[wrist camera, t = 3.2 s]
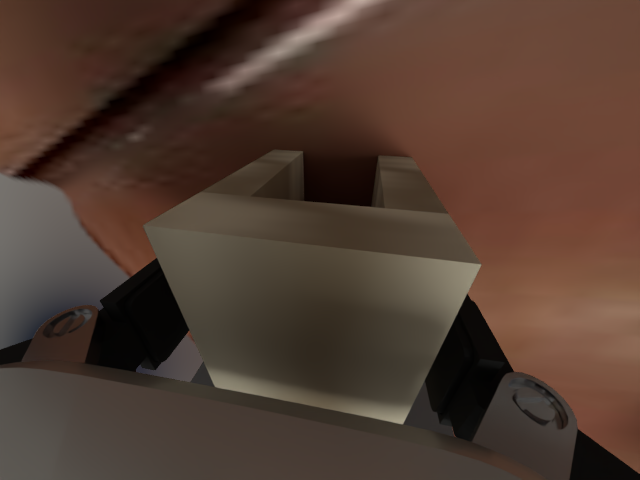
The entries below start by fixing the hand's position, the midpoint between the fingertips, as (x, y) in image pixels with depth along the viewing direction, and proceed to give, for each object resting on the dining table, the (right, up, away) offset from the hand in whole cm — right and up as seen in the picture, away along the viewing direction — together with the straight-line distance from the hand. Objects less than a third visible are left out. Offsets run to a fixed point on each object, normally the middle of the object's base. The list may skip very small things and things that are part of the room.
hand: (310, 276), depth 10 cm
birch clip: (+1, +3, +3) cm, 4 cm away
